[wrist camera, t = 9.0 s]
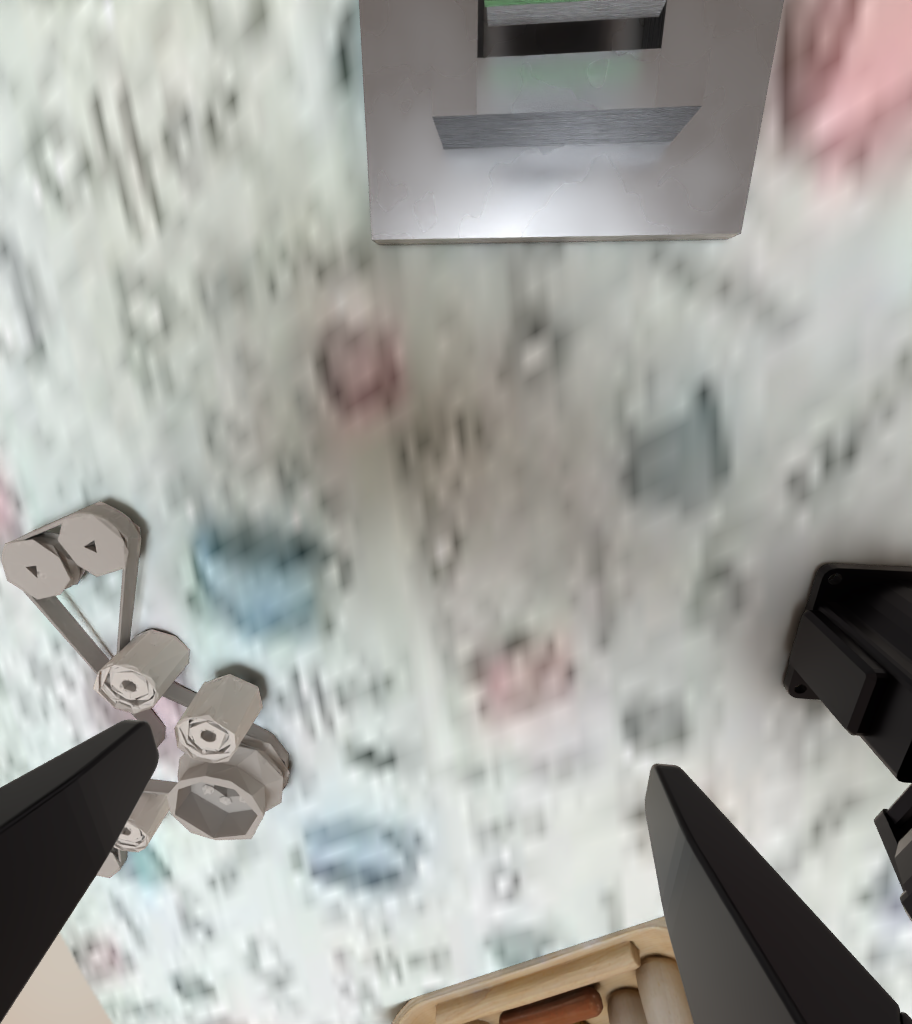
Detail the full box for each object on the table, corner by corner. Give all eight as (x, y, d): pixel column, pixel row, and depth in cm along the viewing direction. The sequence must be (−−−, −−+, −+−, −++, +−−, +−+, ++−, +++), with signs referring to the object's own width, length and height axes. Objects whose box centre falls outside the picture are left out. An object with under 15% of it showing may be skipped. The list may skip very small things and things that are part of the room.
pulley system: (347, 560, 23) (33, 468, 22) (315, 619, 19) (-76, 508, 18) (269, 879, 34) (56, 827, 33) (238, 963, 30) (-9, 906, 29)
